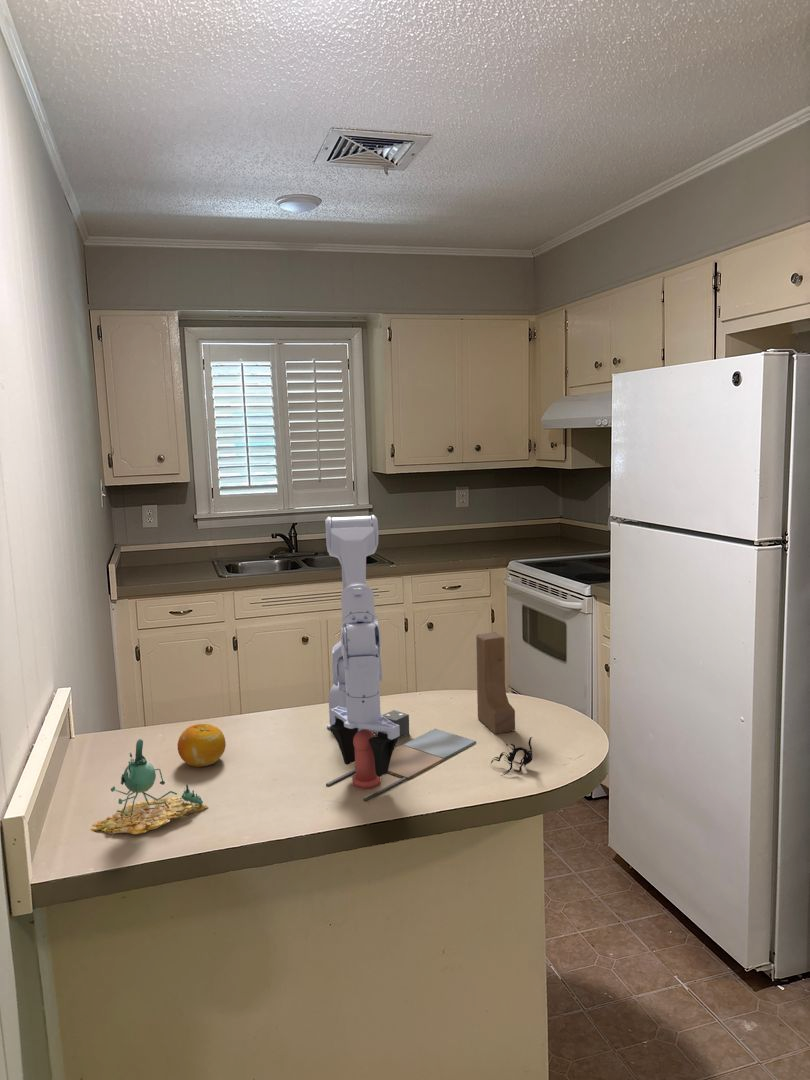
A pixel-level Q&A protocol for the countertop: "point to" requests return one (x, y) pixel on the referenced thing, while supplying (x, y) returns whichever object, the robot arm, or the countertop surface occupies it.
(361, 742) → the pawn
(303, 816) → the countertop surface
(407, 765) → the board
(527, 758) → the creature
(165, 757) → the countertop surface
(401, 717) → the die
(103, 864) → the countertop surface
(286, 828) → the countertop surface
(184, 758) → the fruit
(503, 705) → the wooden block
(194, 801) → the teal figurine on bark
